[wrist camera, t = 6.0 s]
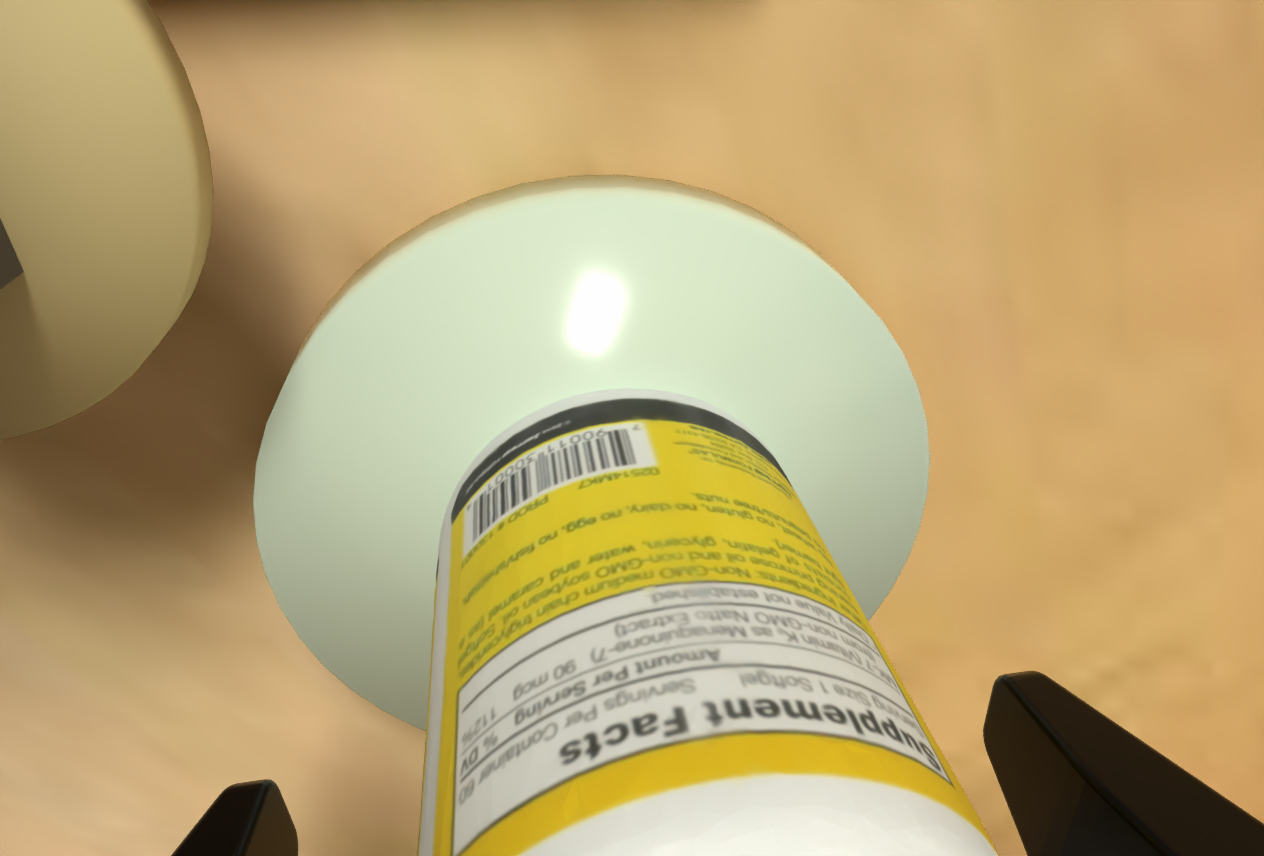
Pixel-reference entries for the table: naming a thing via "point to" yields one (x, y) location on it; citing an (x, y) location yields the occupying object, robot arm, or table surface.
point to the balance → (92, 201)
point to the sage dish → (565, 393)
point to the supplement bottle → (662, 657)
